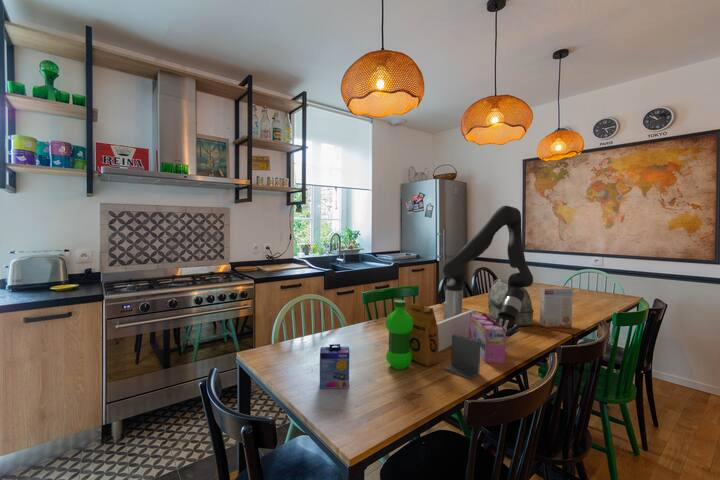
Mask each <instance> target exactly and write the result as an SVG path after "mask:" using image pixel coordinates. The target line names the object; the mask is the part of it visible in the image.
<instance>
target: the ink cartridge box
mask: <svg viewBox="0 0 720 480" xmlns="http://www.w3.org/2000/svg"><path fill="white" fill-rule="evenodd" d="M349 388H350V347H349V346H341V343H337V344H333V343H331V344H329V346H322V347H320V351H319V389H320V390H322V389H349Z"/></svg>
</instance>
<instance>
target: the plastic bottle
mask: <svg viewBox="0 0 720 480" xmlns="http://www.w3.org/2000/svg"><path fill="white" fill-rule="evenodd" d="M393 307H394V308H395V309H394V310H393V311H392V312H391V313H390V314H388V315H387V317H386V320H385V328H386V329H387V331H388V349H387V352H386V355H385V358H386V361H387V363H388V364H389V365H390V366H392V368H393V369H395V370H404V369H406V368H407V367H408V366H410V364H411V363H412V360H413V359H412V353H411V351H410V332H411V331H412V328H413V318H412V317H411V316H410V315H409V313H408V312H407V311H406V310H405V307H406V300H404V299H403V300H402V299H396V300H394V301H393Z"/></svg>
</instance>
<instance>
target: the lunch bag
mask: <svg viewBox="0 0 720 480" xmlns="http://www.w3.org/2000/svg"><path fill="white" fill-rule="evenodd" d="M520 289H521V290H523V292H524V298H523V301H522V304H521V309H520V312H519V315H518V318H517V321H516V325H517V326H519V327H520V326H525V327H526V326H527V327H529V326H533V325H534V309H533V304H532V299H531V296H530V294H529V293H528V291H527V289H526V287H522V288H520ZM507 292H508V280H507V279H504V278H499V279H495V280H493V282H492V283H491V287H490V290H489V292H488V295H487V297H488V299H487V305H488V307H487V308H488V316H489V317H490V318H491V319H493V320H496V318H497V317H498V314H499V311H500V309H501V306H502V303H503V301H504V299H505V297H506V294H507Z"/></svg>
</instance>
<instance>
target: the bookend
mask: <svg viewBox="0 0 720 480" xmlns="http://www.w3.org/2000/svg"><path fill="white" fill-rule="evenodd" d="M450 361H451V362H450V363H451V364H449V365H447V366H445V367H444V370H443V371H446V372H449V373H451V374H454V375H457V376H460V377H463V378H465V379H469V380H470V379H471V380H473V379H474V378H476V377H477V376H478V375H480V371H481V369H480V368H481V365H480V363H481V357H480V341H478V340H474V339H470V338H469V337H467V338H466V337H463V336H459V335H455V334H453V335H452V345H451V359H450Z"/></svg>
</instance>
